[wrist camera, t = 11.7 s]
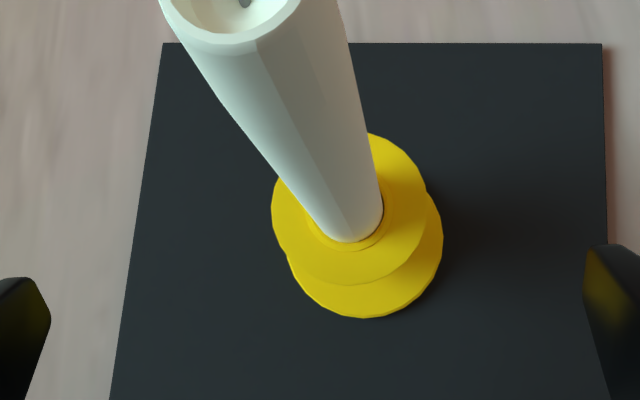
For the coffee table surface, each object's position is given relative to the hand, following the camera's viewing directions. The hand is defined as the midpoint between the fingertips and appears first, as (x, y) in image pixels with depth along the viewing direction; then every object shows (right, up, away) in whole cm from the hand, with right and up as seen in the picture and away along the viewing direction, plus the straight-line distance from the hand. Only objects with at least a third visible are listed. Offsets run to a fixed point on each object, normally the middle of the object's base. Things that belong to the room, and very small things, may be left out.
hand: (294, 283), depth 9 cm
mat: (+2, 0, +10) cm, 11 cm away
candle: (+2, 0, +10) cm, 10 cm away
